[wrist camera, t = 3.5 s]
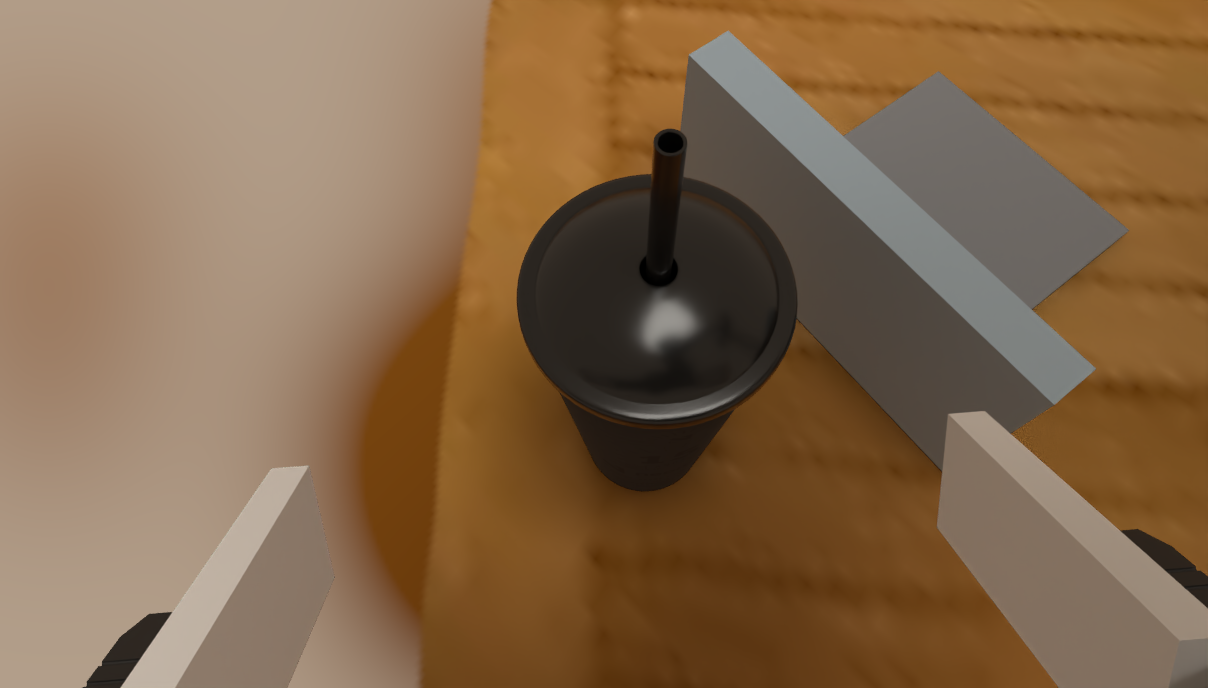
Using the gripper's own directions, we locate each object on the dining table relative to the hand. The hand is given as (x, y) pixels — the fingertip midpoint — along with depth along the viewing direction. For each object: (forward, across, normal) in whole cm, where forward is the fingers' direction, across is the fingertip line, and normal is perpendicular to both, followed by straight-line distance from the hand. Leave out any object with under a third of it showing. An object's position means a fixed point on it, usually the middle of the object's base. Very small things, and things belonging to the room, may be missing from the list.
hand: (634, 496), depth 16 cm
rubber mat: (+23, +16, 0) cm, 28 cm away
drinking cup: (+16, +1, -7) cm, 18 cm away
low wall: (+20, +10, -3) cm, 22 cm away
